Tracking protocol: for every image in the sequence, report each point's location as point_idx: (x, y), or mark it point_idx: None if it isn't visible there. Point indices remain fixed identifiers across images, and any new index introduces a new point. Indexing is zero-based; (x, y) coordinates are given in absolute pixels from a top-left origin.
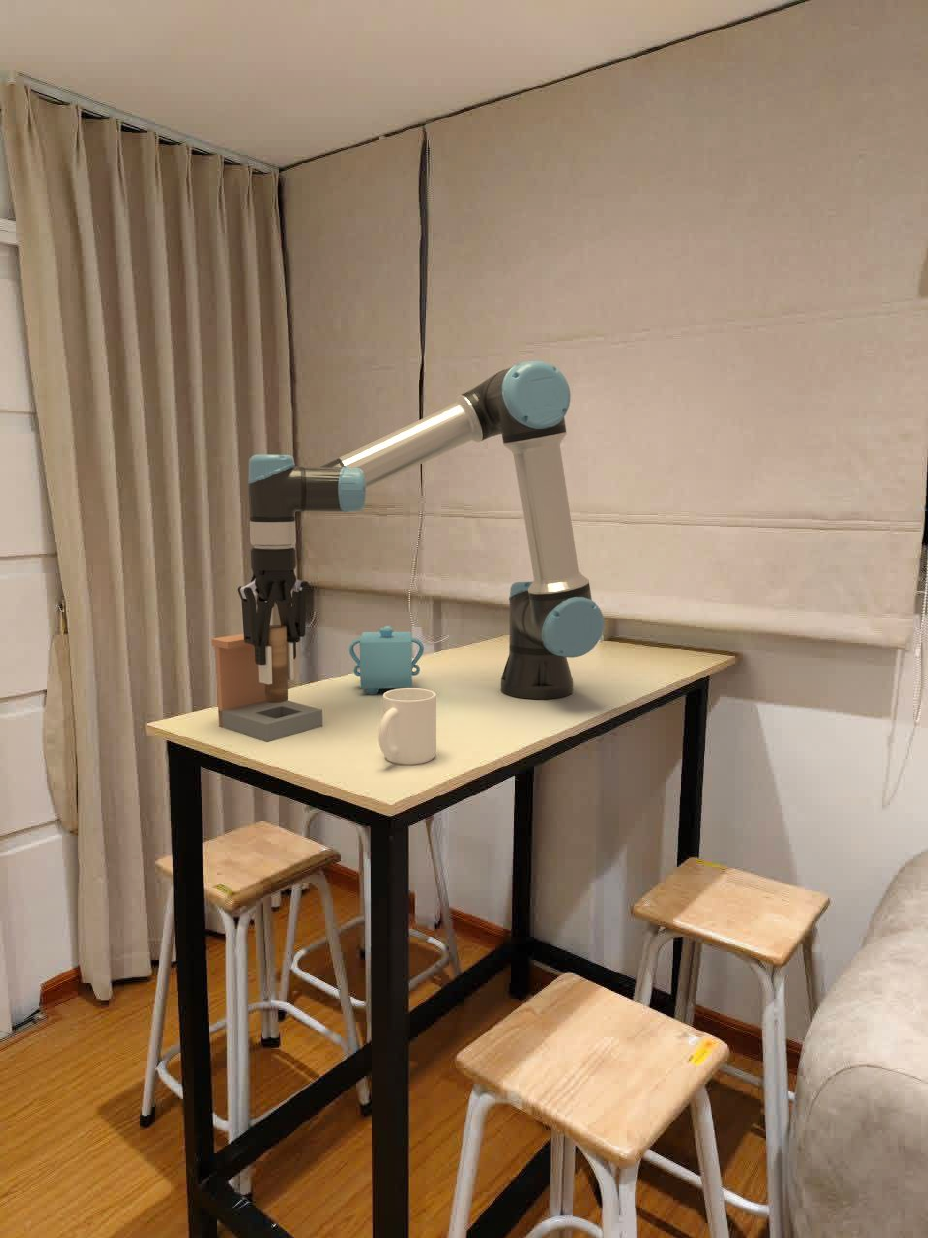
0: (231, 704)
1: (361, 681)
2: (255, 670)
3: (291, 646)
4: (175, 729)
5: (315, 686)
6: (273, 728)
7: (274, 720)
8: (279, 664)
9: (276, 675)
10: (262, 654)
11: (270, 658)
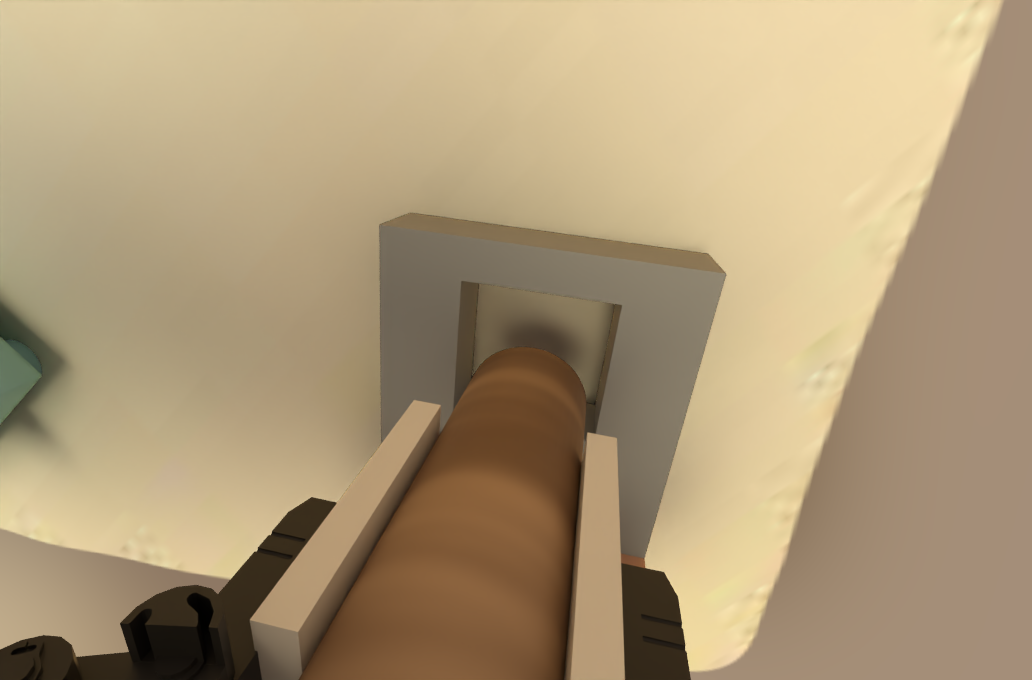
0: None
1: (6, 385)
2: None
3: (295, 589)
4: (735, 611)
5: (135, 546)
6: (678, 261)
7: (649, 289)
8: (518, 492)
9: (551, 451)
10: (658, 663)
11: (592, 577)
